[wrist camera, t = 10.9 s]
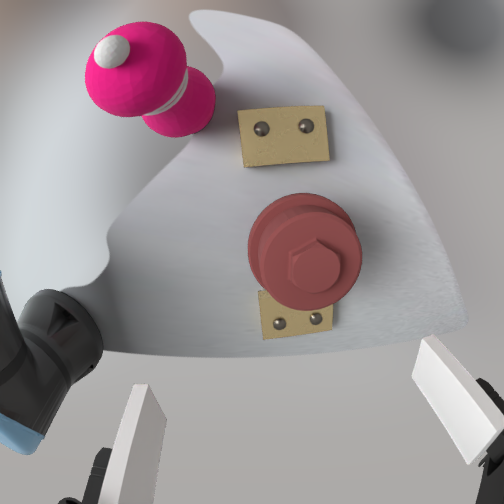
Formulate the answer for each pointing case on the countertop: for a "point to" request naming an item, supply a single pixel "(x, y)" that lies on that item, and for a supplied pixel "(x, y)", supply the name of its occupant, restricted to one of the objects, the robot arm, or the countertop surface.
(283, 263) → the mechanical component
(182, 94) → the pepper mill
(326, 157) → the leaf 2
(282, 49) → the countertop surface
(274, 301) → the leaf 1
